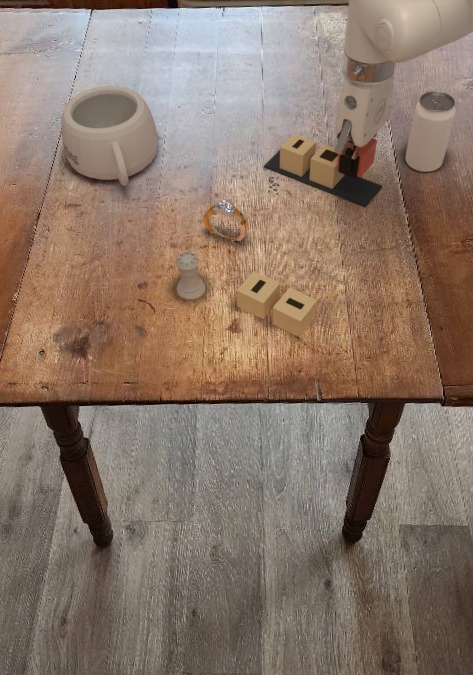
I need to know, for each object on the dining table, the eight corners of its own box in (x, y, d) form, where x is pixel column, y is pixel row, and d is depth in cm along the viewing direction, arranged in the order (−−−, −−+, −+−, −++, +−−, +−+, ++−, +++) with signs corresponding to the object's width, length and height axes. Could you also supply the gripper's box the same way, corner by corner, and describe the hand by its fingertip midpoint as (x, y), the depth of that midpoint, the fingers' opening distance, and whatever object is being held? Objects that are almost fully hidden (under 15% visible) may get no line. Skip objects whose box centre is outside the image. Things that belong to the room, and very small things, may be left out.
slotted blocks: (359, 338, 95) (363, 316, 91) (339, 368, 92) (342, 346, 89) (241, 282, 103) (240, 259, 99) (219, 308, 100) (217, 285, 96)
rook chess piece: (195, 279, 103) (191, 241, 97) (212, 296, 101) (209, 258, 95) (171, 292, 102) (165, 254, 96) (187, 310, 100) (182, 273, 93)
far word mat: (382, 187, 115) (386, 163, 111) (365, 207, 112) (369, 183, 108) (281, 149, 122) (282, 125, 119) (263, 167, 120) (263, 143, 116)
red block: (373, 162, 112) (377, 139, 108) (360, 177, 110) (364, 154, 106) (349, 153, 113) (352, 130, 110) (336, 168, 111) (338, 144, 108)
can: (437, 149, 121) (452, 88, 112) (446, 172, 117) (462, 111, 108) (401, 151, 121) (412, 90, 111) (409, 174, 117) (422, 113, 108)
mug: (61, 139, 126) (47, 91, 119) (148, 120, 129) (141, 72, 121) (80, 212, 114) (66, 163, 106) (176, 190, 116) (170, 141, 109)
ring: (250, 242, 108) (249, 204, 102) (240, 255, 106) (238, 217, 100) (212, 228, 110) (209, 190, 104) (202, 241, 109) (198, 202, 102)
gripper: (365, 99, 91) (351, 203, 106) (418, 42, 100) (398, 146, 114) (316, 82, 94) (309, 186, 109) (372, 29, 103) (359, 131, 117)
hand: (355, 164), depth 111 cm, fingers closed on red block, 4 cm apart
